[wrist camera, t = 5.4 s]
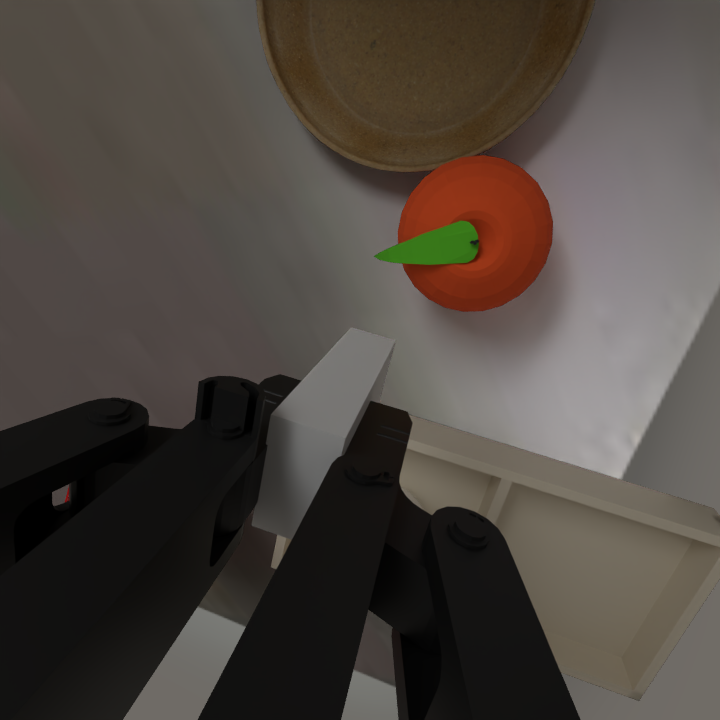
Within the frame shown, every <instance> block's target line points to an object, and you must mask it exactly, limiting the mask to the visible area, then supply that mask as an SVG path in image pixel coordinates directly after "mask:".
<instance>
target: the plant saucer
mask: <svg viewBox="0 0 720 720" xmlns="http://www.w3.org/2000/svg"><path fill="white" fill-rule="evenodd" d="M256 3H257V17H258V24H259V30H260V34H261V39H262V43H263V48H264V52H265V55H266V59H267V62H268V65H269V68H270V70H271V72H272V75H273V77H274V79H275V81H276V84H277V86H278V87H279V89H280V91H281V93H282V94H283V96H284V98H285V100H286V101H287V103H288V105H289V107H290V108H291V109H292V111H293V112H294V113H295V114H296V116H297V117H298V119H299V120H300V121H301V122H302V123H303V125H304V126H305V127H306V128H307V129H308V130H309V131H310V132H311V133H312V134H313V135H314V136H315V137H316V138H317V139H318V140H320V141H321V142H322V143H324V144H325V145H326V146H328V147H329V148H331V149H332V150H333V151H335V152H337V153H339V154H340V155H342V156H344V157H345V158H348V159H350V160H352V161H354V162H357V163H359V164H361V165H365V166H368V167H372V168H376V169H380V170H388V171H394V172H421V171H431V170H435V169H437V168H438V167H439V166H441V165H443V164H445V163H448V162H450V161H453V160H456V159H458V158H461V157H468V156H476V155H479V154H481V153H483V152H485V151H486V150H488V149H490V148H492V147H493V146H495V145H496V144H498V143H499V142H501V141H503V140H504V139H505V138H507V137H508V136H509V135H511V134H512V133H513V132H514V131H515V130H516V129H517V128H518V127H520V126H521V125H522V124H523V123H524V122H525V121H526V120H527V119H528V118H529V117H530V116H532V115H533V114H534V112H535V111H536V110H538V109H539V107H540V106H541V105H542V104H543V102H544V101H545V100H546V99H547V97H548V96H549V95H550V94H551V93H552V91H553V89H554V88H555V86H556V85H557V84H558V83H559V81H560V79H561V78H562V76H563V75H564V73H565V71H566V70H567V68H568V66H569V65H570V63H571V61H572V59H573V57H574V55H575V53H576V51H577V49H578V46H579V44H580V43H581V40H582V38H583V35H584V33H585V30H586V28H587V25H588V23H589V20H590V17H591V14H592V10H593V7H594V4H595V0H256Z"/></svg>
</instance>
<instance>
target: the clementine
mask: <svg viewBox="0 0 720 720" xmlns="http://www.w3.org/2000/svg"><path fill="white" fill-rule="evenodd" d="M552 231H553V220H552V216H551V212H550V207H549V203H548V200H547V199H546V197H545V195H544V193H543V192H542V190H541V188H540V186H539V185H538V183H537V182H536V181H535V180H534V179H533V178H532V177H531V176H530V175H529V174H528V173H527V172H526V171H525V170H524V169H522V168H521V167H519V166H517V165H515V164H513V163H511V162H509V161H507V160H505V159H502V158H497V157H491V156H485V155H478V156H468V157H461V158H458V159H456V160H453V161H450V162H448V163H445V164H443V165H441V166H439V167H438V168H437V169H435V170H434V171H432V172H431V173H430V174H428V175H427V176H426V177H424V178H423V180H422V181H421V182H420V183H419V184H418V186H417V187H416V188H415V189H414V190H413V192H412V193H411V194H410V196H409V198H408V200H407V203H406V205H405V207H404V209H403V211H402V214H401V219H400V224H399V229H398V245H395V246H393V247H391V248H388V249H386V250H384V251H382V252H380V253H378V254H377V255H375V256H374V257H376V258H377V259H379V260H383V261H387V262H393V263H402V264H403V267H404V270H405V272H406V274H407V275H408V277H409V278H410V280H411V281H412V283H413V285H414V286H415V287H416V288H417V289H418V290H419V291H420V292H421V293H422V294H424V295H425V296H426V297H427V298H428V299H429V300H431V301H433V302H435V303H437V304H439V305H441V306H443V307H445V308H449V309H454V310H458V311H463V312H468V311H485V310H488V309H492V308H495V307H499V306H502V305H504V304H505V303H507V302H509V301H511V300H512V299H514V298H516V297H518V296H519V295H520V294H521V293H522V292H523V291H525V290H526V289H527V288H528V287H529V286H530V285H531V284H532V283H533V282H534V281H535V279H536V278H537V276H538V274H539V273H540V271H541V270H542V268H543V266H544V265H545V263H546V260H547V257H548V254H549V251H550V248H551V244H552Z"/></svg>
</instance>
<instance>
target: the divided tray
mask: <svg viewBox="0 0 720 720" xmlns="http://www.w3.org/2000/svg"><path fill="white" fill-rule="evenodd" d="M409 416H410V418H411V420H412V422H413V424H412V428H411V432H410V437H409V441H408V445H407V449H406V453H405V457H404V461H403V465H402V469H401V473H400V480H399V483H400V486H401V487H403V488H405V489H406V490H408V491H409V492H410V493H411V494H413V495H414V497H415V498H416V499H417V500H418V501H419V503H420V504H421V505H422V507H423V509H424V511H426V512H428V513H429V514H431V515H433V514H434V513H435V511H436V510H438V509H441V508H444V507H447V506H450V507H462V508H465V509H469V510H472V511H475V512H476V513H478V514H480V515H482V516H484V517H485V518H487V519H488V520H489V521H491V522H492V523H493V524H494V525H495V526H496V527H497V528H498V529H499V530H500V532H501V533H502V535H503V536H504V538H505V540H506V542H507V544H508V547H509V549H510V552H511V554H512V556H513V559H514V561H515V564H516V566H517V568H518V571H519V573H520V576H521V578H522V580H523V583H524V585H525V588H526V590H527V592H528V595H529V597H530V600H531V602H532V605H533V607H534V609H535V612H536V614H537V617H538V619H539V621H540V624H541V626H542V629H543V631H544V633H545V636H546V638H547V641H548V643H549V645H550V648H551V650H552V653H553V655H554V657H555V660H556V662H557V665H558V667H559V669H560V672H561V673H564V674H567V675H569V676H572V677H574V678H577V679H580V680H583V681H586V682H589V683H591V684H594V685H596V686H599V687H602V688H605V689H607V690H610V691H613V692H616V693H619V694H621V695H624V696H627V697H629V698H632V699H635V700H638V701H639V700H640V699H641V697H642V695H643V694H644V693H645V691H646V690H647V688H648V687H649V685H650V684H651V682H652V681H653V679H654V678H655V676H656V675H657V673H658V671H659V670H660V668H661V667H662V665H663V664H664V663H665V661H666V659H667V658H668V656H669V655H670V653H671V652H672V650H673V649H674V647H675V646H676V644H677V643H678V641H679V640H680V638H681V637H682V635H683V634H684V632H685V631H686V629H687V628H688V626H689V625H690V623H691V622H692V620H693V619H694V617H695V616H696V614H697V613H698V611H699V610H700V608H701V607H702V605H703V604H704V602H705V601H706V599H707V598H708V596H709V595H710V593H711V592H712V590H713V589H714V587H715V585H716V584H717V582H718V581H719V579H720V515H719V514H718V513H717V512H716V510H715V509H714V508H711V507H708V506H705V505H701V504H697V503H695V502H691V501H688V500H685V499H682V498H678V497H675V496H672V495H669V494H665V493H662V492H659V491H655V490H652V489H649V488H646V487H643V486H639V485H636V484H633V483H630V482H626V481H623V480H620V479H617V478H613V477H610V476H607V475H604V474H600V473H597V472H594V471H591V470H587V469H584V468H581V467H578V466H574V465H571V464H568V463H564V462H561V461H558V460H555V459H551V458H548V457H545V456H542V455H538V454H535V453H532V452H529V451H525V450H522V449H519V448H516V447H512V446H509V445H506V444H503V443H499V442H496V441H493V440H490V439H486V438H483V437H480V436H477V435H473V434H470V433H467V432H464V431H460V430H457V429H454V428H450V427H447V426H444V425H441V424H437V423H434V422H431V421H428V420H424V419H421V418H418V417H415V416H411V415H409ZM290 542H291V540H290V539H288V538H285V537H282V536H279V535H277V540H276V544H275V549H274V554H273V559H272V564H271V568H274V569H277V567H278V565H279V563H280V561H281V559H282V558H283V556H284V554H285V552H286V550H287V548H288V546H289V544H290Z"/></svg>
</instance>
